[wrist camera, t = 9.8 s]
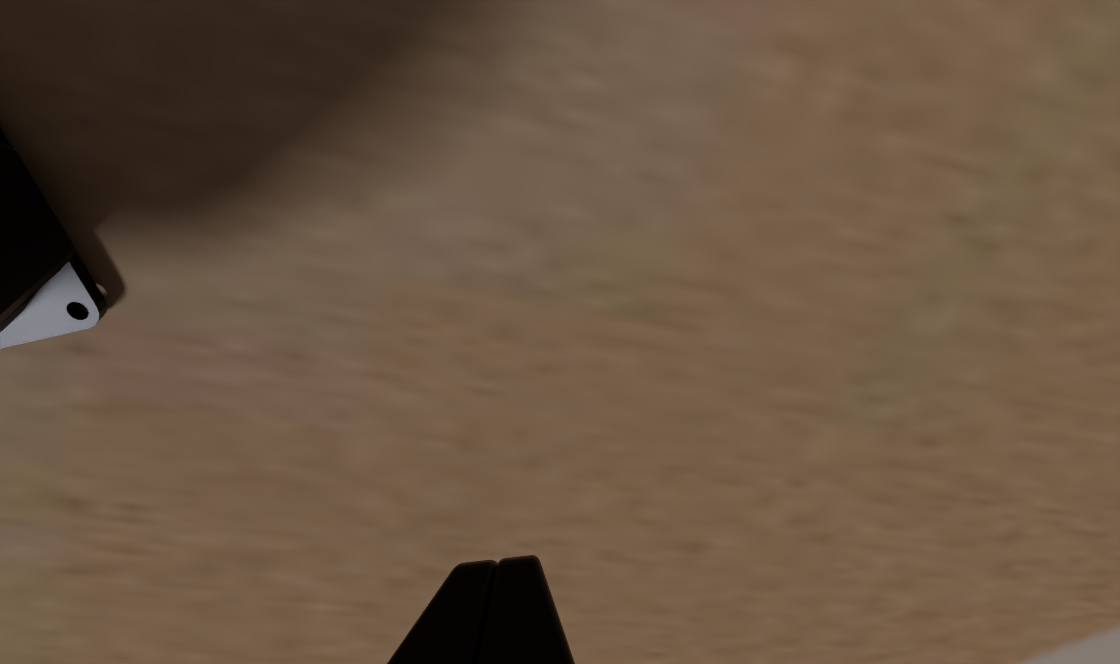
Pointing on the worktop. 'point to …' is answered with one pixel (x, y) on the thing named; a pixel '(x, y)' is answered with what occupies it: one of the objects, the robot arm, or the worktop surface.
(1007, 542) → the worktop surface
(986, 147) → the worktop surface
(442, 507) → the worktop surface
